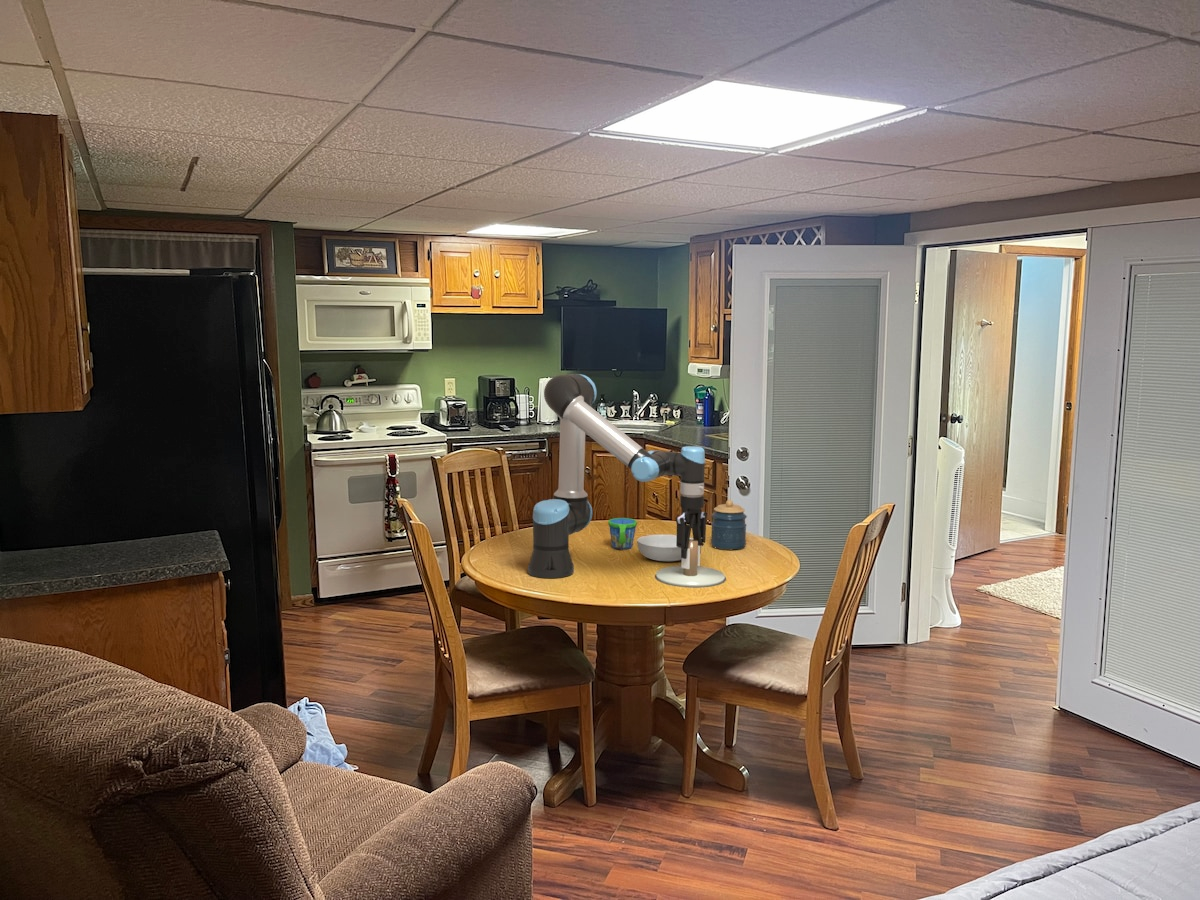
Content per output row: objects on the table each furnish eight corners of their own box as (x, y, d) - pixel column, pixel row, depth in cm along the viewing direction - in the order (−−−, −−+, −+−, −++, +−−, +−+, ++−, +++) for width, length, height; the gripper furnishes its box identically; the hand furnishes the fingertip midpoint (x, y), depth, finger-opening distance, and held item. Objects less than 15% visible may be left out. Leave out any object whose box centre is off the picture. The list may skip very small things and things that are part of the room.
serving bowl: (706, 557, 313) (706, 538, 312) (678, 570, 295) (678, 550, 294) (655, 549, 324) (655, 531, 323) (625, 561, 307) (625, 541, 306)
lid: (696, 591, 269) (696, 552, 267) (642, 577, 284) (642, 540, 283) (738, 577, 285) (739, 541, 283) (685, 564, 300) (685, 530, 298)
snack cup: (634, 553, 317) (634, 525, 316) (605, 552, 319) (605, 524, 317) (638, 543, 333) (638, 516, 331) (610, 542, 334) (610, 515, 333)
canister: (734, 541, 337) (735, 496, 335) (752, 549, 325) (753, 502, 323) (704, 544, 332) (705, 498, 330) (721, 552, 320) (722, 504, 318)
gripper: (683, 500, 272) (682, 573, 275) (718, 493, 284) (716, 563, 288) (665, 497, 277) (663, 569, 280) (699, 490, 290) (698, 559, 293)
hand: (690, 566), depth 284 cm, fingers open, 4 cm apart
